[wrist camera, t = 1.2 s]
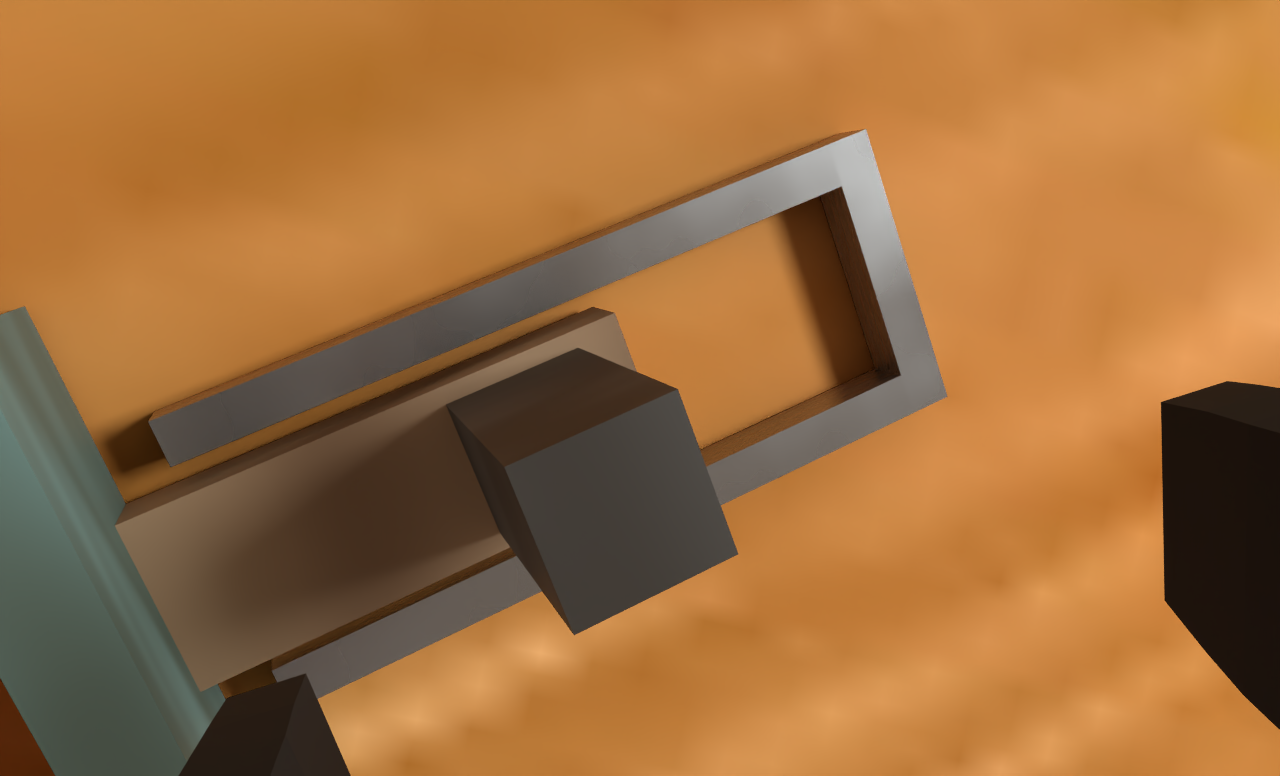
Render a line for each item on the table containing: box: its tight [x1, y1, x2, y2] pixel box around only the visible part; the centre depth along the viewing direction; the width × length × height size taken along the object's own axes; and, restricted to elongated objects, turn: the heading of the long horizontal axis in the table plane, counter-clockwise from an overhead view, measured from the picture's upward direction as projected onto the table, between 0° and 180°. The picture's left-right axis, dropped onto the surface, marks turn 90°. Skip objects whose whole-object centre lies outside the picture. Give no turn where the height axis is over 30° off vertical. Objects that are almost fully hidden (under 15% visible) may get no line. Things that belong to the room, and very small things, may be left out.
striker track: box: [148, 129, 947, 699], centre depth 21 cm, size 13×5×1 cm, turn 111°
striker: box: [0, 306, 738, 776], centre depth 17 cm, size 10×10×6 cm
